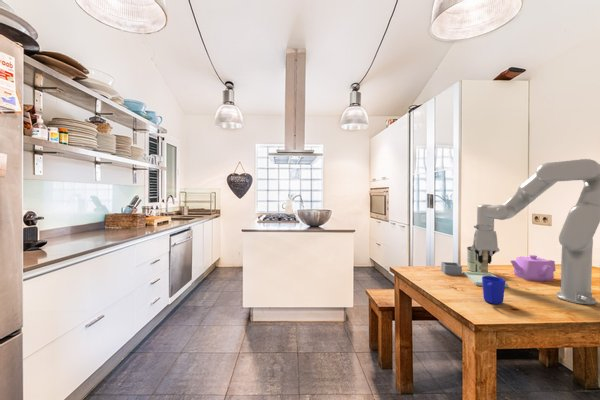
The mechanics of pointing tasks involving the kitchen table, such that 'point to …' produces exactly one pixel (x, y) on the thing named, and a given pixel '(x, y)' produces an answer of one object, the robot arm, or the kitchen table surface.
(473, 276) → the tray
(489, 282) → the mug
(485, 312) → the kitchen table surface
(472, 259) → the coffee can
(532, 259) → the teakettle
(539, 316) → the kitchen table surface
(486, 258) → the dowel
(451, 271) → the grey square bin
